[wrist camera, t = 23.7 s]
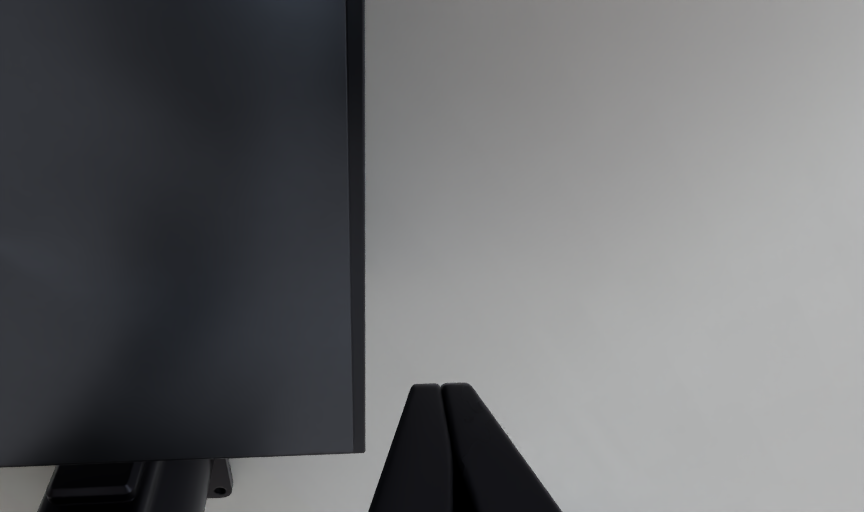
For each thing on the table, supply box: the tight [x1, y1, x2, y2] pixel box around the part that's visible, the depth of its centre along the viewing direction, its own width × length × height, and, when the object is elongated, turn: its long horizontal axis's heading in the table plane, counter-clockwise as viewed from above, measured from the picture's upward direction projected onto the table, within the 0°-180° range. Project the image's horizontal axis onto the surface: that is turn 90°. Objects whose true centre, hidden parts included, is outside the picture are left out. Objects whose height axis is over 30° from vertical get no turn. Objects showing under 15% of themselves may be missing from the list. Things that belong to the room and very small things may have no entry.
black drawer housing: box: [0, 0, 365, 468], centre depth 15 cm, size 14×14×8 cm
